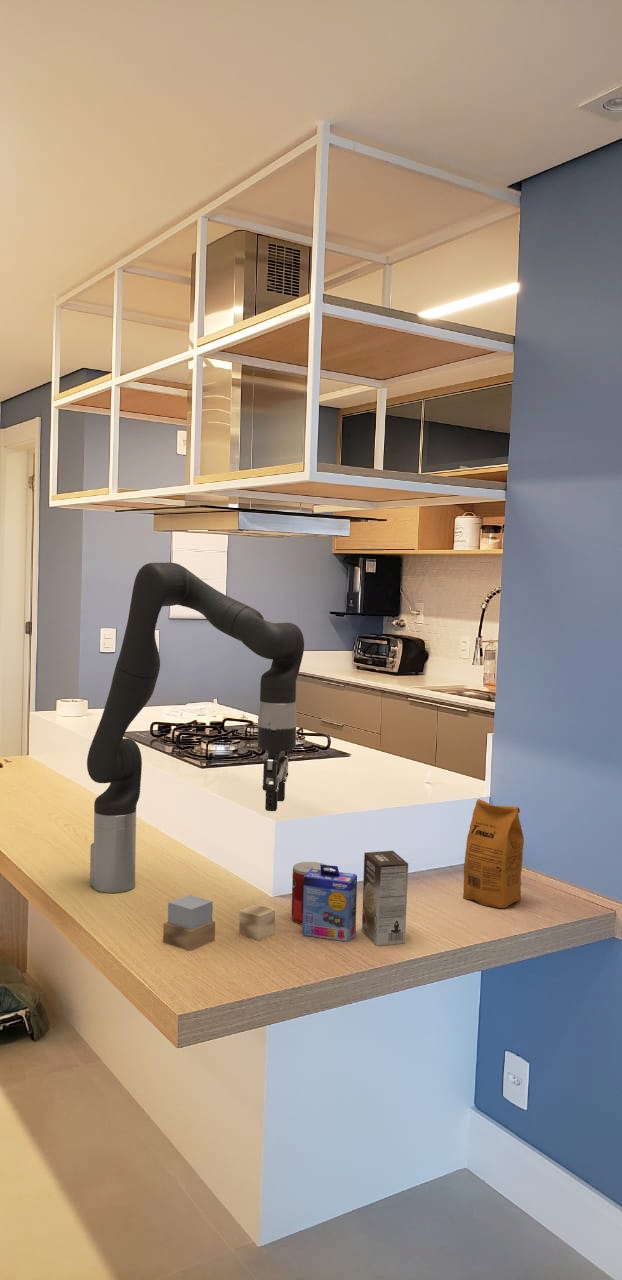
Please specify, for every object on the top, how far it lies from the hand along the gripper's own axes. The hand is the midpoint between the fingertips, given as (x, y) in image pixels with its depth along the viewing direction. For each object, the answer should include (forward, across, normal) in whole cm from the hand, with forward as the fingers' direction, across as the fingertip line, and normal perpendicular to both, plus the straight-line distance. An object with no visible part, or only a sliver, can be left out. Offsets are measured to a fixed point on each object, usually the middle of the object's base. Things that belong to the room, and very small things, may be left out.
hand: (275, 805), depth 197 cm
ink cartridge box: (+26, -1, +11) cm, 28 cm away
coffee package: (+26, -30, +44) cm, 59 cm away
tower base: (+26, +9, -15) cm, 31 cm away
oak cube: (+26, +2, -3) cm, 26 cm away
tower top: (+22, +9, -14) cm, 27 cm away
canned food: (+26, -9, +6) cm, 28 cm away
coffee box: (+26, -2, +22) cm, 34 cm away
